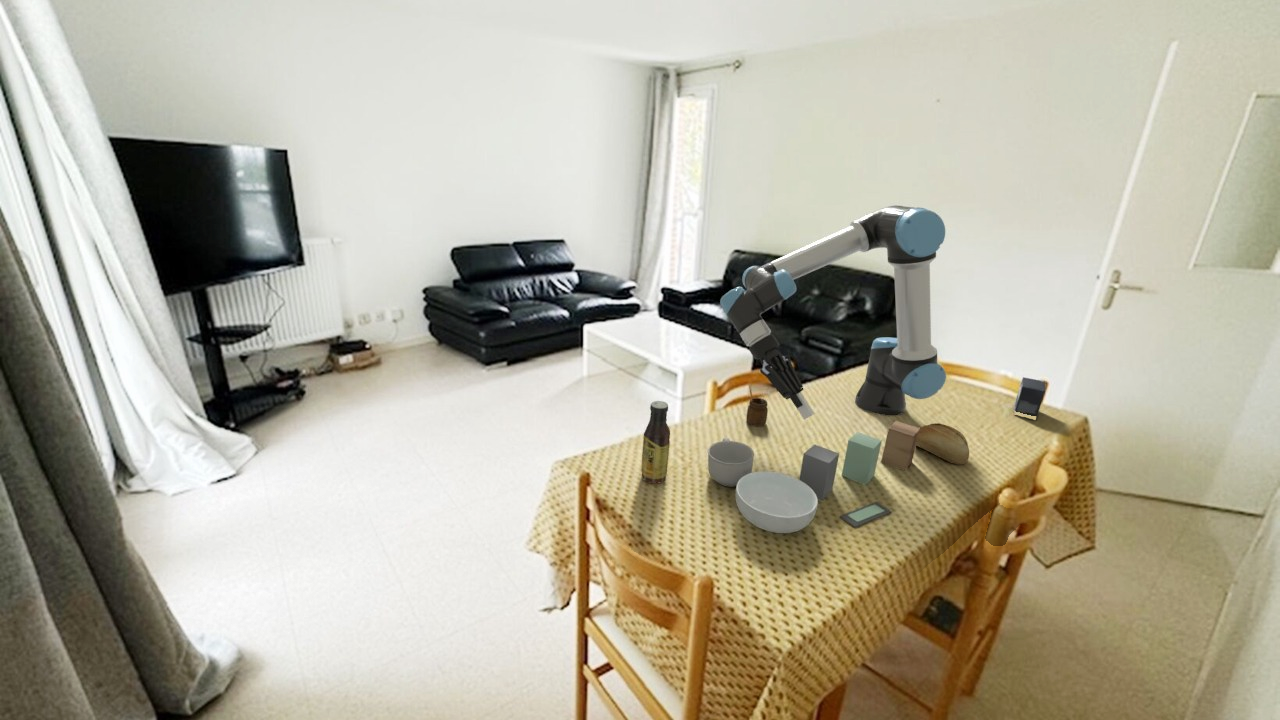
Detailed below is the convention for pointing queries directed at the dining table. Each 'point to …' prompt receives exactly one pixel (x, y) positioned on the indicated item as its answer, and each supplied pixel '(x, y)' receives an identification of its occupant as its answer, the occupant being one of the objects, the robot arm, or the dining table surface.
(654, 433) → the sauce bottle
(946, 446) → the bread roll
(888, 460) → the walnut block
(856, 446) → the sage block
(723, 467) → the teacup
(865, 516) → the card
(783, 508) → the cereal bowl
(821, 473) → the charcoal block
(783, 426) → the dining table surface
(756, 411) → the utensil holder
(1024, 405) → the small box
